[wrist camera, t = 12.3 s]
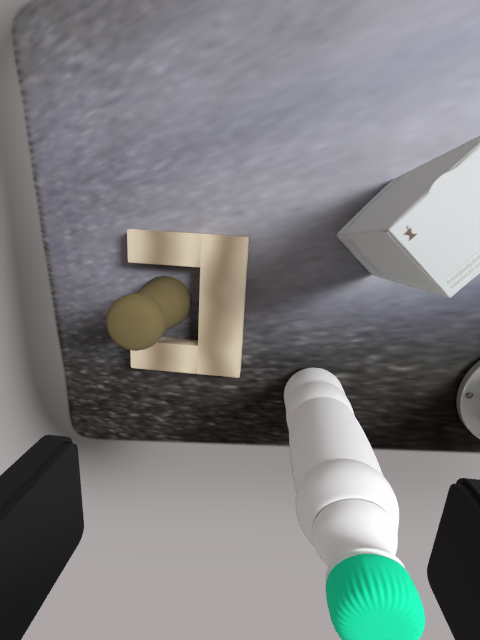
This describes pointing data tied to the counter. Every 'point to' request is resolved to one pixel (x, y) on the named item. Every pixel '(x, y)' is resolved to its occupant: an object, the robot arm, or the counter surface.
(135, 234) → the wooden u-shaped block
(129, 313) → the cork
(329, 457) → the water bottle
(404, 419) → the counter surface
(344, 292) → the counter surface
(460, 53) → the counter surface
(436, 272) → the skincare box
